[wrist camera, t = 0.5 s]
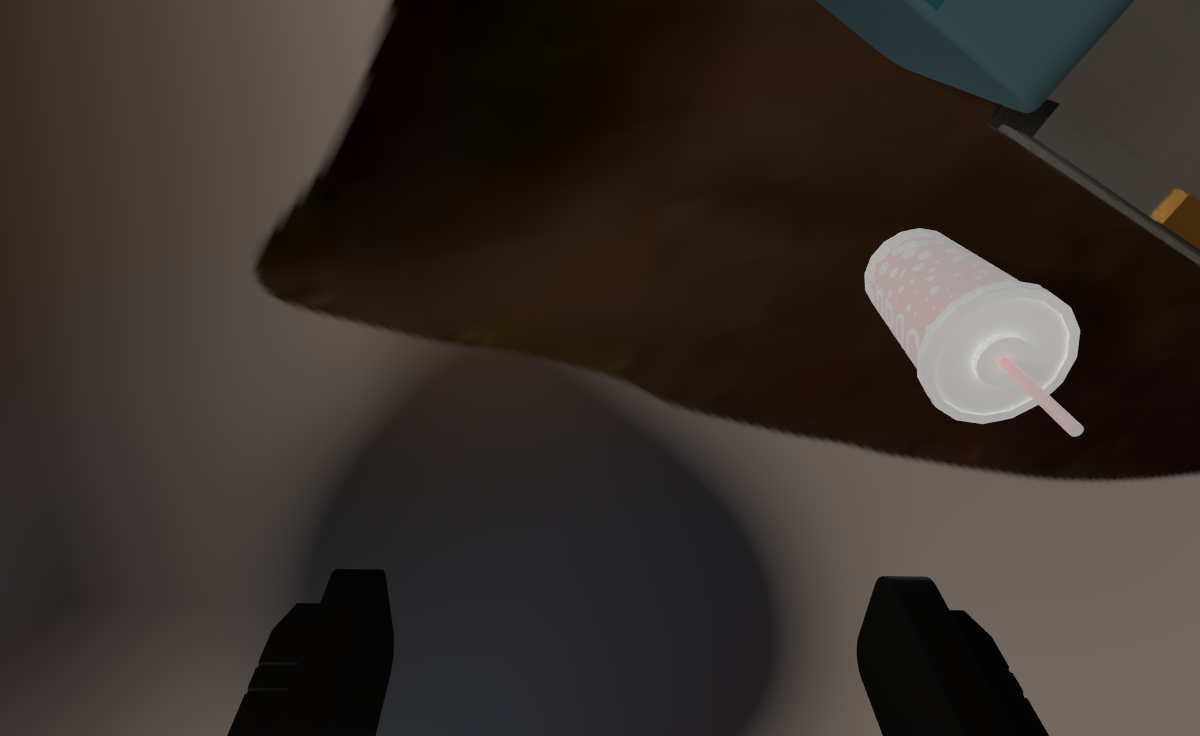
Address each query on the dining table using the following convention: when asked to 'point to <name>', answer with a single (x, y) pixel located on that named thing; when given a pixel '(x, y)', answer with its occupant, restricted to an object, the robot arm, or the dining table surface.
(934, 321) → the beverage cup
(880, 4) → the data package
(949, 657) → the robot arm
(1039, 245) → the dining table surface
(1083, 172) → the grey tray
